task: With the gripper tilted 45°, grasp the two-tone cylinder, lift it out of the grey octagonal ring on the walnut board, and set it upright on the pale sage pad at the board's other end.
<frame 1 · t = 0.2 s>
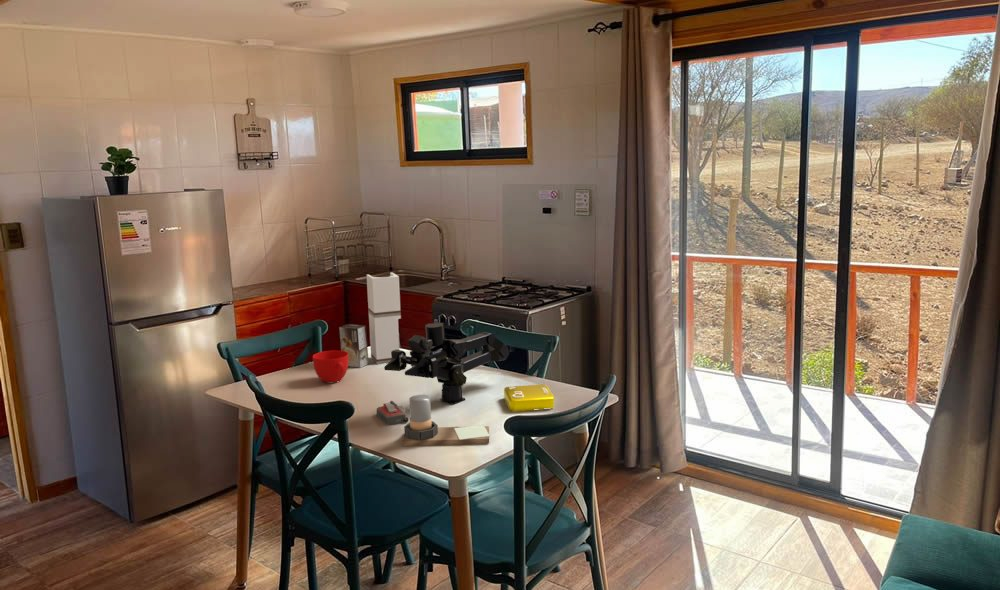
hand: (394, 370, 227), 17 cm above the table, tool horizontal, fingers open, 9 cm apart
element tile: (528, 405, 245), on the table
tall white stacked column: (386, 359, 302), on the table
grey octagonal ring: (421, 438, 216), resting on walnut board
walnut board: (446, 438, 216), on the table
coffee box: (355, 365, 295), on the table
ceramic cup: (334, 382, 273), on the table
two-tone cylinder: (421, 434, 216), point 2 cm above the table, touching walnut board
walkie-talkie: (391, 416, 237), on the table
sage pad: (471, 437, 216), resting on walnut board
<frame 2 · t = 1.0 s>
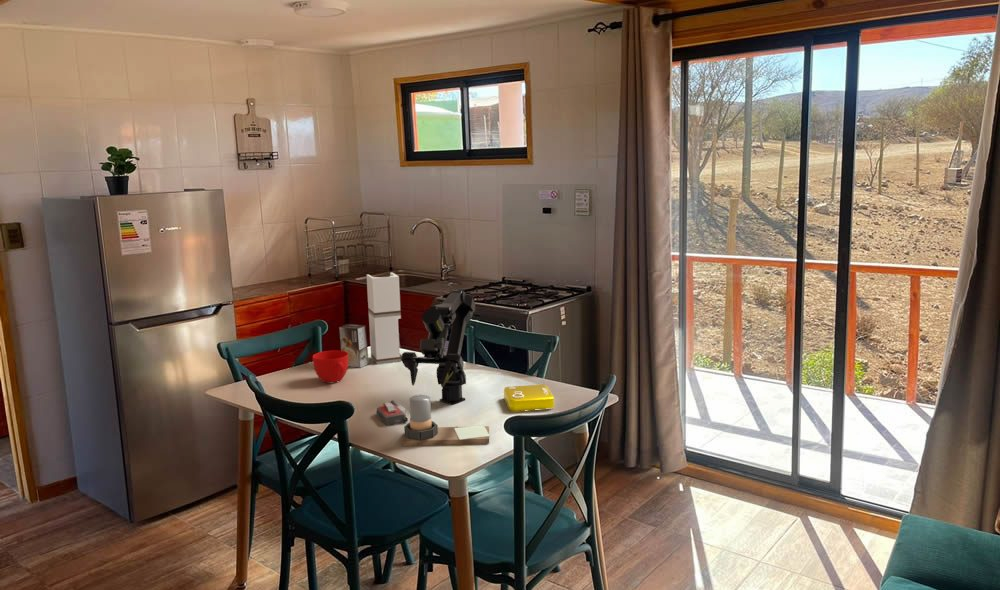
hand: (427, 385, 221), 14 cm above the table, tool tilted 45°, fingers open, 9 cm apart
nothing on the table moved.
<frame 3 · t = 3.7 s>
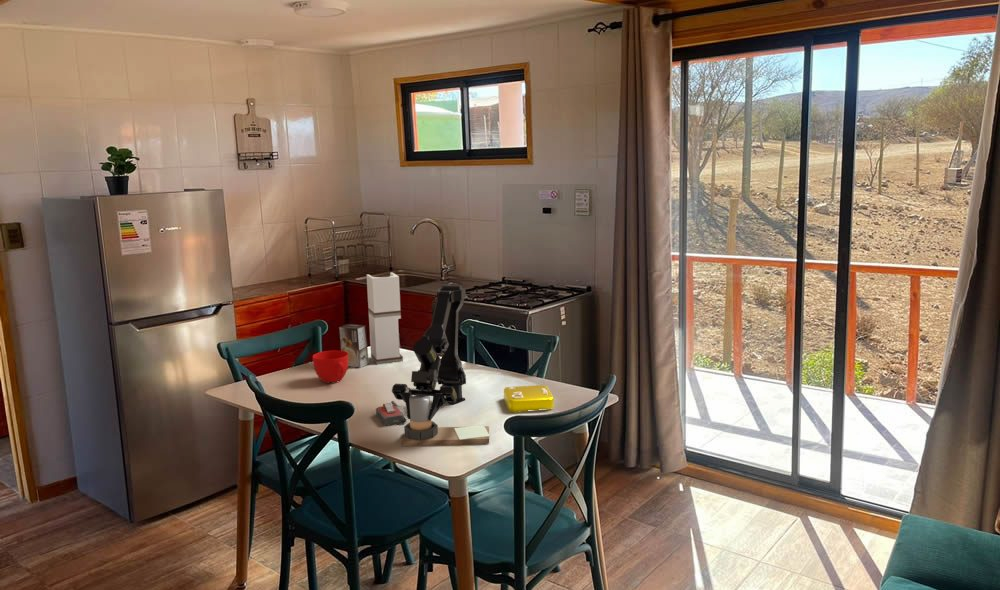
hand: (419, 419, 214), 7 cm above the table, tool tilted 45°, fingers closed on two-tone cylinder, 6 cm apart
two-tone cylinder: (421, 434, 216), point 2 cm above the table, touching gripper, walnut board
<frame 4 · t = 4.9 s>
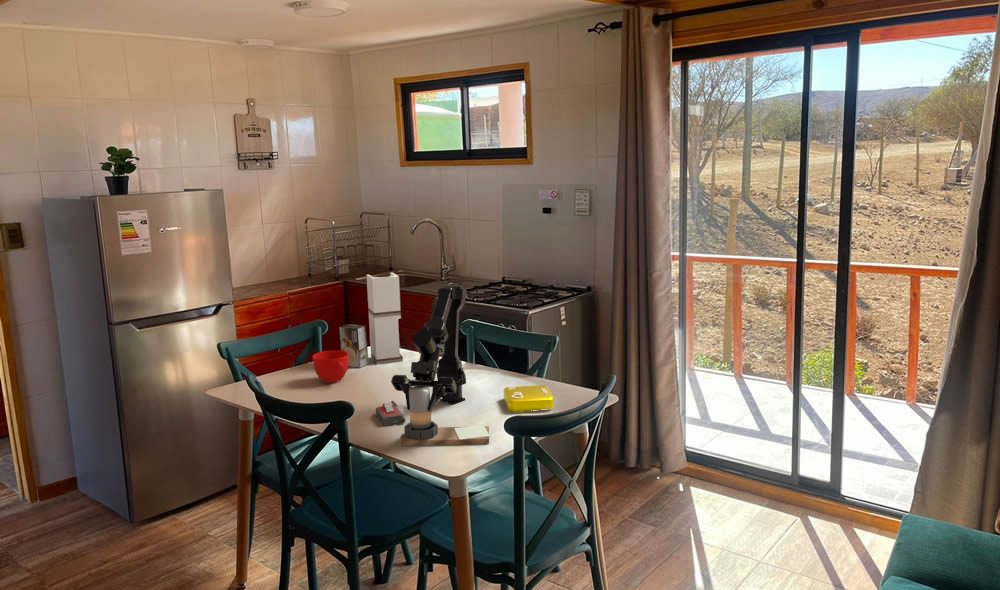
hand: (418, 410, 213), 9 cm above the table, tool tilted 45°, fingers closed on two-tone cylinder, 6 cm apart
two-tone cylinder: (420, 425, 215), point 4 cm above the table, touching gripper
everything else where it was.
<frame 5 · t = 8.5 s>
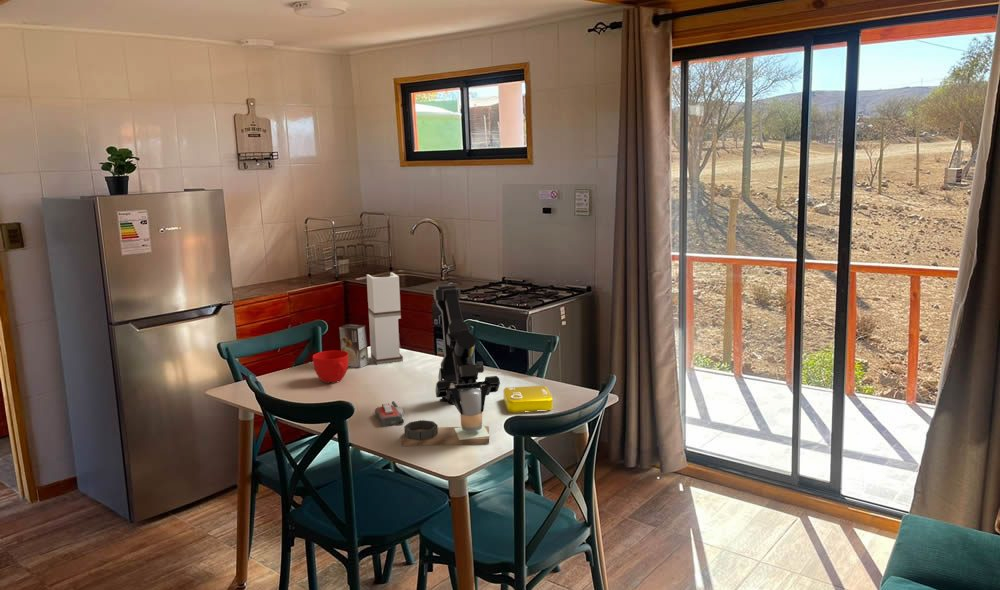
hand: (472, 412, 214), 8 cm above the table, tool tilted 45°, fingers closed on two-tone cylinder, 6 cm apart
two-tone cylinder: (471, 427, 216), point 3 cm above the table, touching gripper
when the fingers open (8 cm above the table, at t = 8.7 s): two-tone cylinder drops 1 cm, resting on sage pad.
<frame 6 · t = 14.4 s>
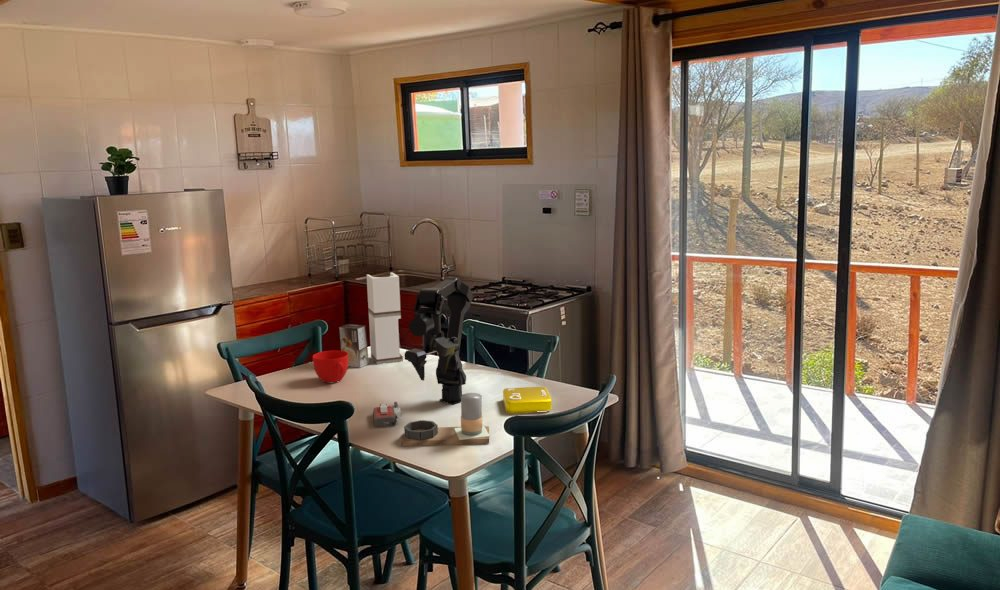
hand: (433, 376, 233), 13 cm above the table, tool pointing down, fingers open, 9 cm apart
two-tone cylinder: (471, 431, 216), point 2 cm above the table, touching sage pad
at the end: two-tone cylinder 0.0 cm from the target spot, point 1.8 cm above the table; two-tone cylinder tilted 1°; the gripper is holding nothing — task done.
